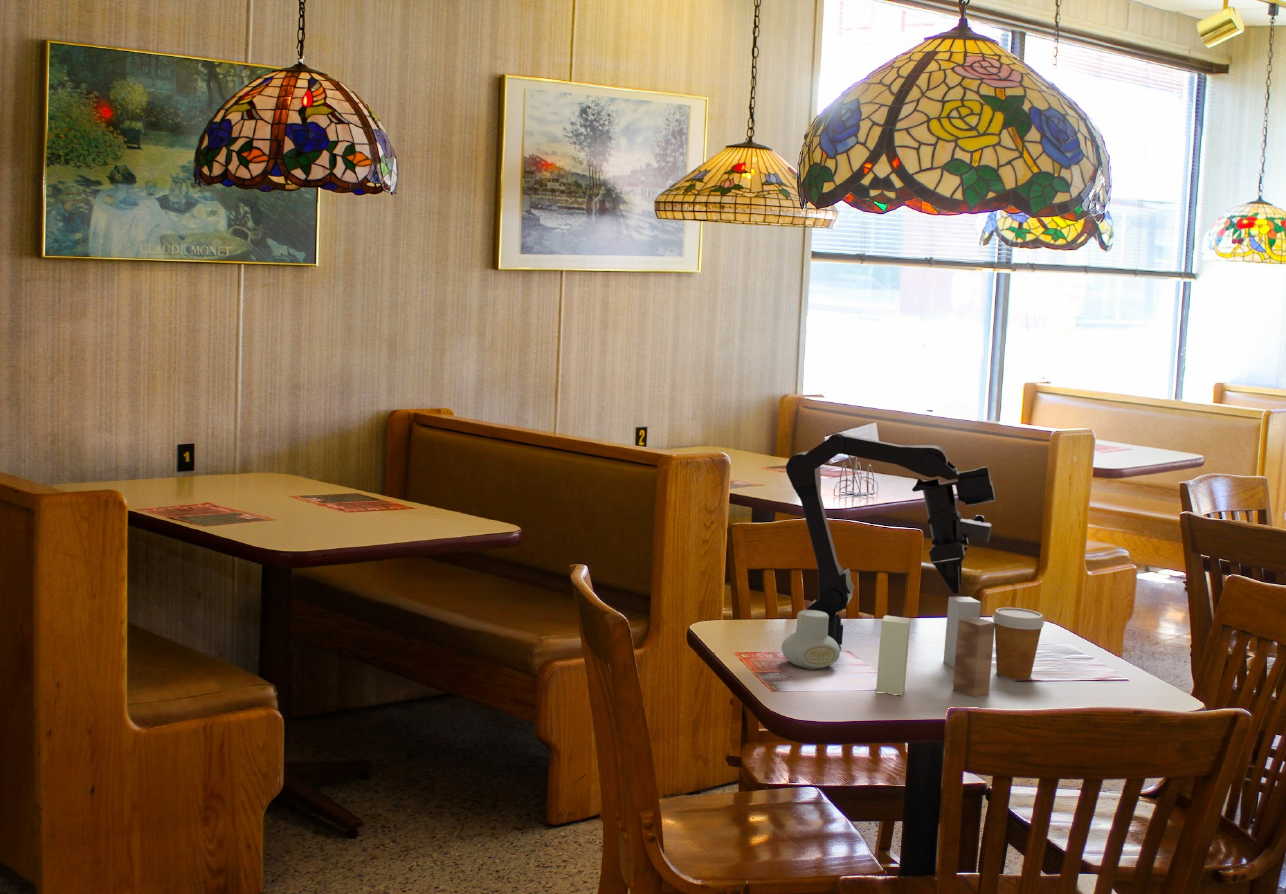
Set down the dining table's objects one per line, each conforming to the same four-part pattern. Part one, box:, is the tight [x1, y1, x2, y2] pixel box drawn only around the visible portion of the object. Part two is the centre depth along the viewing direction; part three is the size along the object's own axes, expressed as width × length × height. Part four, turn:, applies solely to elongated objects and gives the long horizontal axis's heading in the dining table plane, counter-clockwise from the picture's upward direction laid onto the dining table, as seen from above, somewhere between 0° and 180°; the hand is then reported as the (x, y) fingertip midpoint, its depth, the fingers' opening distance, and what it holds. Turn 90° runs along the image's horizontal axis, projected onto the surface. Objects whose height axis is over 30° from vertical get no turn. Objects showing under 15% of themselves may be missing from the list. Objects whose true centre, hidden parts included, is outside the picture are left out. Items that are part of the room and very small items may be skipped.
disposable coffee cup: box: [991, 607, 1046, 680], centre depth 240 cm, size 10×10×12 cm
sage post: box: [875, 615, 911, 697], centre depth 224 cm, size 4×4×13 cm
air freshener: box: [781, 609, 841, 670], centre depth 238 cm, size 11×8×10 cm
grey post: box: [942, 596, 982, 670], centre depth 244 cm, size 4×4×13 cm
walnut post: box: [952, 617, 995, 698], centre depth 226 cm, size 4×4×13 cm
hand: (957, 588), depth 245 cm, fingers open, 9 cm apart
